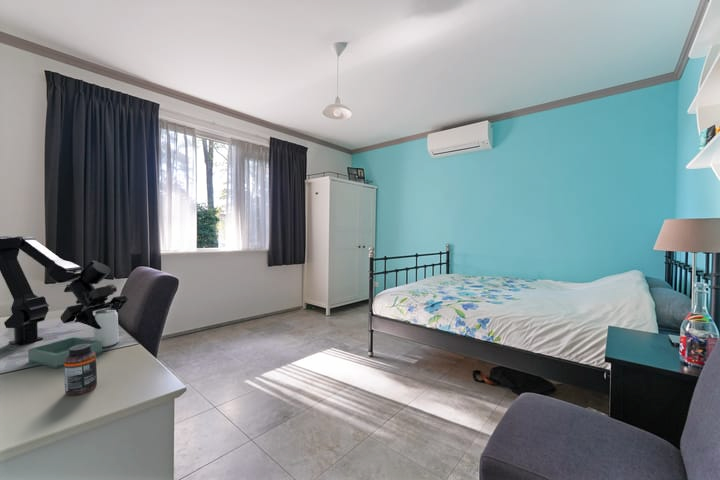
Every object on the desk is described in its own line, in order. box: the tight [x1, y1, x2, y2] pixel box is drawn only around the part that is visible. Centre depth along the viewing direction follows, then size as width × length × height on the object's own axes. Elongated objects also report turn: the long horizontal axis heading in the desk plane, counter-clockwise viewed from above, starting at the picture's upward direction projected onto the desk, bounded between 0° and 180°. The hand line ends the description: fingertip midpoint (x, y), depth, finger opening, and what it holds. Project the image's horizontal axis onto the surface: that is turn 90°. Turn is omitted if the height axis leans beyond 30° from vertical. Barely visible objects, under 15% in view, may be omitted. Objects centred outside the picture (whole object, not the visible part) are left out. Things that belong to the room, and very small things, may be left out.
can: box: [93, 309, 120, 348], centre depth 105 cm, size 6×6×12 cm
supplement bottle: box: [63, 344, 98, 396], centre depth 76 cm, size 6×6×11 cm
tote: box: [27, 335, 103, 370], centre depth 95 cm, size 14×12×4 cm
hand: (109, 326), depth 105 cm, fingers closed on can, 6 cm apart
